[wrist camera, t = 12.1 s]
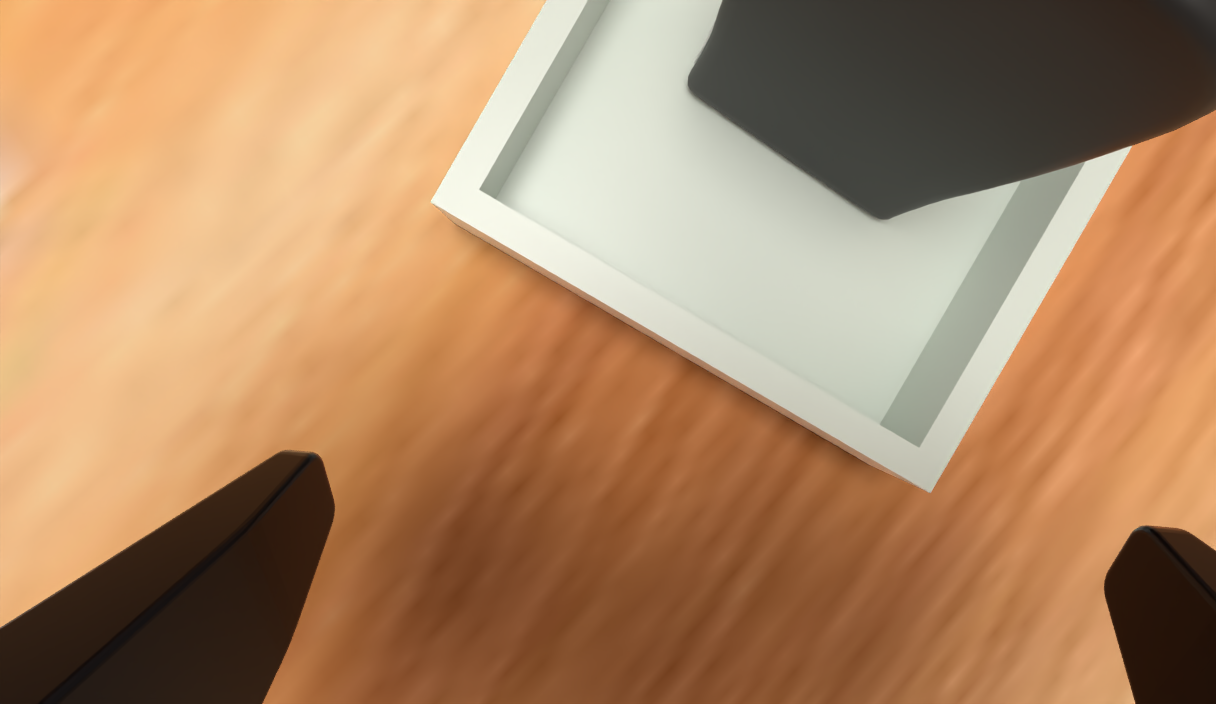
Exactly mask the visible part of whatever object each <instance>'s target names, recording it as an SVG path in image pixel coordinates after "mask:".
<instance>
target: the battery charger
mask: <svg viewBox="0 0 1216 704" xmlns="http://www.w3.org/2000/svg"><path fill="white" fill-rule="evenodd" d="M688 87H689V89H690V91H692V92H693V93H694V94H695V95H696V96H698V97H699V98H701V99H702V100H704V101H705V102H706V103H708V104H709V105H711V106H712V107H714V108H715V109H716V110H718V111H719V112H721V113H722V114H724V115H725V116H726V117H728V118H729V119H731V120H732V121H734V122H735V123H736V124H738V125H739V126H741V127H742V128H744V129H745V130H747V131H748V132H750V133H751V134H752V135H754V136H755V137H757V138H758V139H760V140H761V141H763V142H764V143H766V144H767V145H768V146H770V147H771V148H773V149H774V150H776V151H777V152H779V153H780V154H782V155H783V156H784V157H786V158H787V159H789V160H790V161H792V162H793V163H795V164H796V165H798V166H799V167H801V168H802V169H804V170H805V171H807V172H808V173H810V174H811V175H813V176H814V177H816V178H817V179H819V180H820V181H822V182H823V183H825V184H826V185H827V186H829V187H830V188H832V189H833V190H835V191H836V192H838V193H839V194H841V195H842V196H844V197H845V198H847V199H848V200H850V201H851V202H853V203H854V204H856V205H857V206H859V207H860V208H862V209H864V210H865V211H867V212H868V213H870V214H871V215H873V216H874V217H876V218H878V219H882V220H888V219H891V218H893V217H895V216H898V215H901V214H903V213H906V212H908V211H911V210H915V209H918V208H921V207H924V206H926V205H929V204H932V203H936V202H939V201H942V200H946V199H950V198H954V197H958V196H963V195H967V194H971V193H975V192H979V191H983V190H987V189H991V188H995V187H998V186H1002V185H1006V184H1010V183H1014V182H1017V181H1021V180H1025V179H1029V178H1032V177H1036V176H1040V175H1043V174H1046V173H1050V172H1053V171H1056V170H1060V169H1063V168H1066V167H1070V166H1073V165H1076V164H1079V163H1082V162H1085V161H1088V160H1091V159H1094V158H1097V157H1100V156H1103V155H1106V154H1109V153H1112V152H1115V151H1118V150H1121V149H1124V148H1126V147H1129V146H1132V145H1135V144H1138V143H1141V142H1144V141H1146V140H1149V139H1152V138H1155V137H1157V136H1160V135H1163V134H1166V133H1169V132H1171V131H1174V130H1176V129H1178V128H1180V127H1183V126H1185V125H1187V124H1189V123H1191V122H1193V121H1195V120H1197V119H1199V118H1201V117H1203V116H1205V115H1207V114H1209V113H1211V112H1213V111H1214V110H1216V0H722V3H721V6H720V8H719V11H718V14H717V17H716V19H715V21H714V24H713V26H712V27H711V29H710V32H709V34H708V36H707V38H706V40H705V42H704V44H703V45H702V47H701V49H700V50H699V52H698V54H697V55H696V57H695V58H694V66H693V68H692V69H691V71H690V73H689V76H688Z"/></svg>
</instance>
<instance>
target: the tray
mask: <svg viewBox="0 0 1216 704" xmlns="http://www.w3.org/2000/svg"><path fill="white" fill-rule="evenodd" d="M721 3H722V0H547V1H546V2H545V4H544V6H543V8H542V9H541V11H540V13H539V15H538V16H537V18H536V20H535V21H534V23H533V25H532V27H531V28H530V30H529V32H528V34H527V35H526V37H525V39H524V41H523V42H522V44H521V46H520V48H519V49H518V51H517V53H516V54H515V56H514V58H513V60H512V61H511V63H510V65H509V67H508V68H507V70H506V72H505V74H504V75H503V77H502V79H501V81H500V82H499V84H498V86H497V87H496V89H495V91H494V93H493V94H492V96H491V98H490V100H489V101H488V103H487V105H486V107H485V108H484V110H483V112H482V113H481V115H480V117H479V119H478V120H477V122H476V124H475V126H474V127H473V129H472V131H471V133H470V134H469V136H468V138H467V140H466V141H465V143H464V145H463V146H462V148H461V150H460V152H459V153H458V155H457V157H456V159H455V160H454V162H453V164H452V166H451V167H450V169H449V171H448V173H447V174H446V176H445V178H444V179H443V181H442V183H441V185H440V186H439V188H438V190H437V192H436V193H435V195H434V197H433V199H432V200H431V203H432V204H433V205H434V206H435V207H437V208H438V209H439V210H440V211H441V212H442V213H443V214H444V215H445V216H447V217H448V218H449V219H450V220H451V221H452V222H453V223H454V224H456V225H458V226H460V227H461V228H463V229H465V230H466V231H468V232H470V233H472V234H473V235H475V236H477V237H478V238H480V239H482V240H484V241H485V242H487V243H489V244H491V245H492V246H494V247H496V248H497V249H499V250H501V251H503V252H504V253H506V254H508V255H509V256H511V257H513V258H515V259H516V260H518V261H520V262H521V263H523V264H525V265H527V266H528V267H530V268H532V269H534V270H535V271H537V272H539V273H540V274H542V275H544V276H546V277H547V278H549V279H551V280H552V281H554V282H556V283H558V284H559V285H561V286H563V287H564V288H566V289H568V290H570V291H571V292H573V293H575V294H576V295H578V296H580V297H582V298H583V299H585V300H587V301H589V302H590V303H592V304H594V305H595V306H597V307H599V308H601V309H602V310H604V311H606V312H607V313H609V314H611V315H613V316H614V317H616V318H618V319H619V320H621V321H623V322H625V323H626V324H628V325H630V326H631V327H633V328H635V329H637V330H638V331H640V332H642V333H644V334H645V335H647V336H649V337H650V338H652V339H654V340H656V341H657V342H659V343H661V344H662V345H664V346H666V347H668V348H669V349H671V350H673V351H674V352H676V353H678V354H680V355H681V356H683V357H685V358H686V359H688V360H690V361H692V362H693V363H695V364H697V365H699V366H700V367H702V368H704V369H705V370H707V371H709V372H711V373H712V374H714V375H716V376H717V377H719V378H721V379H723V380H724V381H726V382H728V383H729V384H731V385H733V386H735V387H736V388H738V389H740V390H741V391H743V392H745V393H747V394H748V395H750V396H752V397H754V398H755V399H757V400H759V401H760V402H762V403H764V404H766V405H767V406H769V407H771V408H772V409H774V410H776V411H778V412H779V413H781V414H783V415H784V416H786V417H788V418H790V419H791V420H793V421H795V422H797V423H798V424H800V425H802V426H803V427H805V428H807V429H809V430H810V431H812V432H814V433H815V434H817V435H819V436H821V437H822V438H824V439H826V440H827V441H829V442H831V443H833V444H834V445H836V446H838V447H839V448H841V449H843V450H845V451H846V452H848V453H850V454H852V455H853V456H855V457H857V458H858V459H860V460H862V461H864V462H865V463H867V464H869V465H871V466H873V467H875V468H877V469H879V470H881V471H883V472H886V473H888V474H890V475H892V476H894V477H896V478H899V479H901V480H903V481H905V482H907V483H909V484H911V485H914V486H916V487H918V488H920V489H922V490H924V491H927V492H929V493H931V491H932V490H933V488H934V486H935V485H936V483H937V481H938V479H939V478H940V476H941V474H942V472H943V471H944V469H945V467H946V466H947V464H948V462H949V460H950V459H951V457H952V455H953V454H954V452H955V450H956V448H957V447H958V445H959V443H960V441H961V440H962V438H963V436H964V435H965V433H966V431H967V429H968V428H969V426H970V424H971V423H972V421H973V419H974V417H975V416H976V414H977V412H978V410H979V409H980V407H981V405H982V404H983V402H984V400H985V398H986V397H987V395H988V393H989V392H990V390H991V388H992V386H993V385H994V383H995V381H996V379H997V378H998V376H999V374H1000V373H1001V371H1002V369H1003V367H1004V366H1005V364H1006V362H1007V361H1008V359H1009V357H1010V355H1011V354H1012V352H1013V350H1014V349H1015V347H1016V345H1017V343H1018V342H1019V340H1020V338H1021V336H1022V335H1023V333H1024V331H1025V330H1026V328H1027V326H1028V324H1029V323H1030V321H1031V319H1032V318H1033V316H1034V314H1035V312H1036V311H1037V309H1038V307H1039V305H1040V304H1041V302H1042V300H1043V299H1044V297H1045V295H1046V293H1047V292H1048V290H1049V288H1050V287H1051V285H1052V283H1053V281H1054V280H1055V278H1056V276H1057V274H1058V273H1059V271H1060V269H1061V268H1062V266H1063V264H1064V262H1065V261H1066V259H1067V257H1068V256H1069V254H1070V252H1071V250H1072V249H1073V247H1074V245H1075V243H1076V242H1077V240H1078V238H1079V237H1080V235H1081V233H1082V231H1083V230H1084V228H1085V226H1086V225H1087V223H1088V221H1089V219H1090V218H1091V216H1092V214H1093V213H1094V211H1095V209H1096V207H1097V206H1098V204H1099V202H1100V200H1101V199H1102V197H1103V195H1104V194H1105V192H1106V190H1107V188H1108V187H1109V185H1110V183H1111V182H1112V180H1113V178H1114V176H1115V175H1116V173H1117V171H1118V169H1119V168H1120V166H1121V164H1122V163H1123V161H1124V159H1125V157H1126V156H1127V154H1128V152H1129V151H1130V149H1131V147H1132V146H1129V147H1126V148H1124V149H1121V150H1118V151H1115V152H1112V153H1109V154H1106V155H1103V156H1100V157H1097V158H1094V159H1091V160H1088V161H1085V162H1082V163H1079V164H1076V165H1073V166H1070V167H1066V168H1063V169H1060V170H1056V171H1053V172H1050V173H1046V174H1043V175H1040V176H1036V177H1032V178H1029V179H1025V180H1021V181H1017V182H1014V183H1010V184H1006V185H1002V186H998V187H995V188H991V189H987V190H983V191H979V192H975V193H971V194H967V195H963V196H958V197H954V198H950V199H946V200H942V201H939V202H936V203H932V204H929V205H926V206H924V207H921V208H918V209H915V210H911V211H908V212H906V213H903V214H901V215H898V216H895V217H893V218H891V219H888V220H882V219H878V218H876V217H874V216H873V215H871V214H870V213H868V212H867V211H865V210H864V209H862V208H860V207H859V206H857V205H856V204H854V203H853V202H851V201H850V200H848V199H847V198H845V197H844V196H842V195H841V194H839V193H838V192H836V191H835V190H833V189H832V188H830V187H829V186H827V185H826V184H825V183H823V182H822V181H820V180H819V179H817V178H816V177H814V176H813V175H811V174H810V173H808V172H807V171H805V170H804V169H802V168H801V167H799V166H798V165H796V164H795V163H793V162H792V161H790V160H789V159H787V158H786V157H784V156H783V155H782V154H780V153H779V152H777V151H776V150H774V149H773V148H771V147H770V146H768V145H767V144H766V143H764V142H763V141H761V140H760V139H758V138H757V137H755V136H754V135H752V134H751V133H750V132H748V131H747V130H745V129H744V128H742V127H741V126H739V125H738V124H736V123H735V122H734V121H732V120H731V119H729V118H728V117H726V116H725V115H724V114H722V113H721V112H719V111H718V110H716V109H715V108H714V107H712V106H711V105H709V104H708V103H706V102H705V101H704V100H702V99H701V98H699V97H698V96H696V95H695V94H694V93H693V92H692V91H690V89H689V87H688V76H689V73H690V71H691V69H692V68H693V66H694V58H695V57H696V55H697V54H698V52H699V50H700V49H701V47H702V45H703V44H704V42H705V40H706V38H707V36H708V34H709V32H710V29H711V27H712V26H713V24H714V21H715V19H716V17H717V14H718V11H719V8H720V6H721Z"/></svg>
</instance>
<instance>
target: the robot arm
mask: <svg viewBox="0 0 1216 704" xmlns="http://www.w3.org/2000/svg"><path fill="white" fill-rule="evenodd" d="M334 512H335V504H334V499H333V495H332V492H331V488H330V485H329V481H328V478H327V474H326V471H325V467H324V464H323V461H322V459H321V457H320V456H319V455H318V454H316V453H313V452H304V451H293V450H285V451H281V452H279V453H277V454H275V455H273V456H272V457H270V458H269V459H267V460H265V461H264V462H262V463H261V464H259V465H257V466H256V467H254V468H253V469H251V470H250V471H248V472H246V473H245V474H243V475H242V476H240V477H238V478H237V479H235V480H234V481H232V482H231V483H229V484H227V485H226V486H224V487H223V488H221V489H219V490H218V491H216V492H215V493H213V494H212V495H210V496H208V497H207V498H205V499H204V500H202V501H200V502H199V503H197V504H196V505H194V506H192V507H191V508H189V509H188V510H186V511H185V512H183V513H181V514H180V515H178V516H177V517H175V518H173V519H172V520H170V521H169V522H167V523H166V524H164V525H162V526H161V527H159V528H158V529H156V530H154V531H153V532H151V533H150V534H148V535H146V536H145V537H143V538H142V539H140V540H139V541H137V542H135V543H134V544H132V545H131V546H129V547H127V548H126V549H124V550H123V551H121V552H120V553H118V554H116V555H115V556H113V557H112V558H110V559H108V560H107V561H105V562H104V563H102V564H100V565H99V566H97V567H96V568H94V569H93V570H91V571H89V572H88V573H86V574H85V575H83V576H81V577H80V578H78V579H77V580H75V581H74V582H72V583H70V584H69V585H67V586H66V587H64V588H62V589H61V590H59V591H58V592H56V593H55V594H53V595H51V596H50V597H48V598H47V599H45V600H43V601H42V602H40V603H39V604H37V605H35V606H34V607H32V608H31V609H29V610H28V611H26V612H24V613H23V614H21V615H20V616H18V617H16V618H15V619H13V620H12V621H10V622H9V623H7V624H5V625H4V626H2V627H1V628H0V704H262V703H263V701H264V699H265V697H266V694H267V692H268V690H269V688H270V686H271V684H272V682H273V680H274V677H275V675H276V673H277V671H278V669H279V667H280V665H281V663H282V660H283V658H284V656H285V654H286V651H287V649H288V647H289V644H290V642H291V640H292V637H293V634H294V632H295V629H296V626H297V624H298V621H299V618H300V615H301V612H302V609H303V607H304V604H305V601H306V598H307V595H308V592H309V589H310V586H311V583H312V581H313V578H314V575H315V572H316V569H317V566H318V563H319V560H320V558H321V555H322V552H323V549H324V546H325V543H326V540H327V537H328V534H329V532H330V529H331V526H332V523H333V519H334ZM1104 592H1105V598H1106V602H1107V605H1108V609H1109V612H1110V616H1111V619H1112V623H1113V626H1114V630H1115V633H1116V637H1117V641H1118V644H1119V648H1120V651H1121V655H1122V658H1123V662H1124V665H1125V669H1126V672H1127V676H1128V679H1129V683H1130V686H1131V690H1132V693H1133V697H1134V700H1135V704H1216V551H1215V550H1214V549H1212V548H1211V547H1210V546H1208V545H1207V544H1205V543H1204V542H1203V541H1201V540H1200V539H1198V538H1197V537H1195V536H1194V535H1192V534H1191V533H1189V532H1187V531H1185V530H1182V529H1178V528H1169V527H1158V526H1140V527H1139V528H1137V529H1135V530H1134V531H1133V532H1132V533H1131V534H1130V536H1129V538H1128V539H1127V541H1126V543H1125V544H1124V546H1123V547H1122V549H1121V551H1120V552H1119V554H1118V556H1117V557H1116V559H1115V561H1114V562H1113V564H1112V565H1111V567H1110V569H1109V570H1108V572H1107V574H1106V578H1105V583H1104Z"/></svg>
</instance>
